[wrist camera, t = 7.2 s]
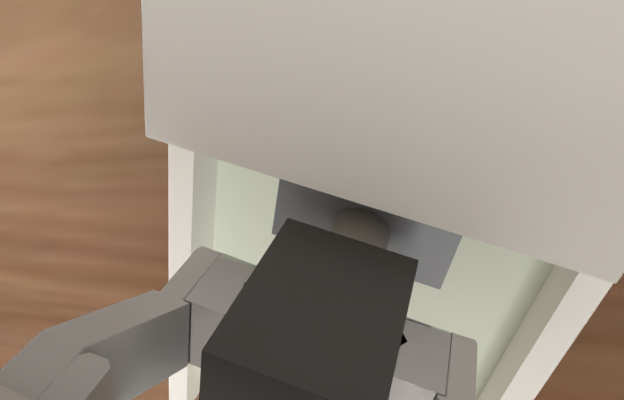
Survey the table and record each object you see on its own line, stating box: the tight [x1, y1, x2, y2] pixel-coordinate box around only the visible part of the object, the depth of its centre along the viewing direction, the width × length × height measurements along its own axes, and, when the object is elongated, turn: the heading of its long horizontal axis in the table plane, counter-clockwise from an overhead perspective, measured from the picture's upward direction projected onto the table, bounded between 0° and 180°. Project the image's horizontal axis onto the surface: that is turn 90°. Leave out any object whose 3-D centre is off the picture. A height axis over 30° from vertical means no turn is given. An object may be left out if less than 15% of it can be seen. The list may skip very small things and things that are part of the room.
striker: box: [199, 179, 462, 400], centre depth 13 cm, size 5×3×11 cm, turn 81°
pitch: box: [141, 0, 624, 400], centre depth 17 cm, size 15×26×8 cm, turn 171°
